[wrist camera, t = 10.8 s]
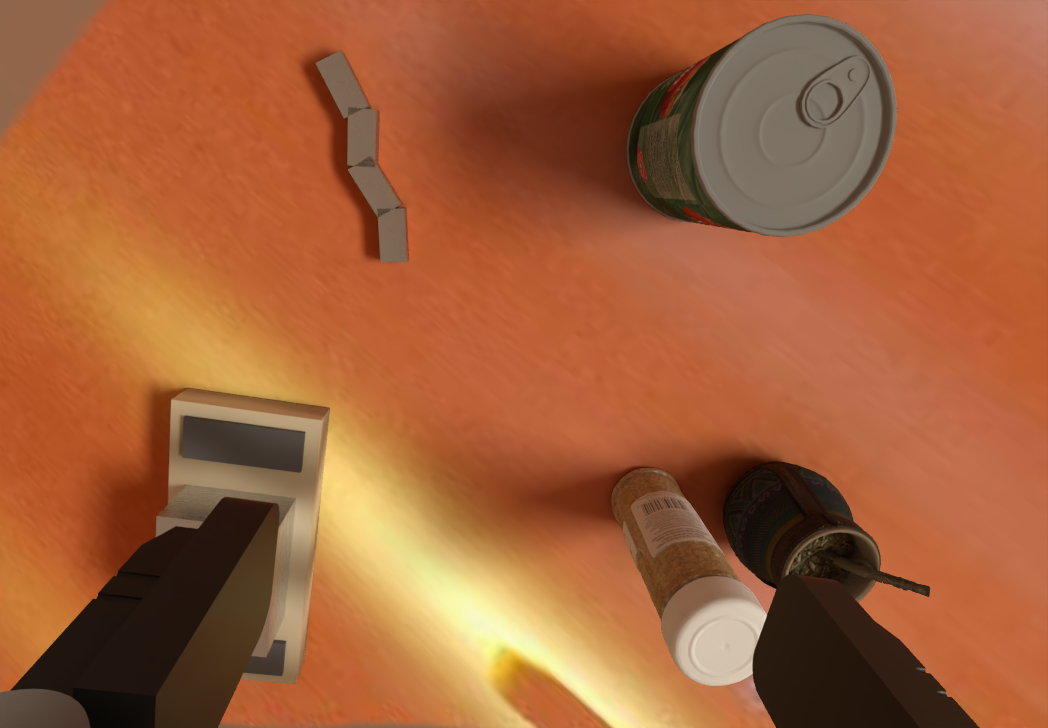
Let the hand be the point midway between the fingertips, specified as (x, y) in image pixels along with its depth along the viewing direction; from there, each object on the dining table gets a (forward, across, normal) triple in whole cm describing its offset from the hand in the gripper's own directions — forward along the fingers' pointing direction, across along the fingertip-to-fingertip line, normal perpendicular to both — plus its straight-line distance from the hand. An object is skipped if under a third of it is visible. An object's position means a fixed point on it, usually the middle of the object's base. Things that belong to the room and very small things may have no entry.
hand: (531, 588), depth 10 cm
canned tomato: (+27, -10, -10) cm, 30 cm away
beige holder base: (+26, +12, +18) cm, 34 cm away
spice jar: (+27, -12, +11) cm, 31 cm away
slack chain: (+27, +7, -5) cm, 28 cm away
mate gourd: (+27, -20, +10) cm, 35 cm away
